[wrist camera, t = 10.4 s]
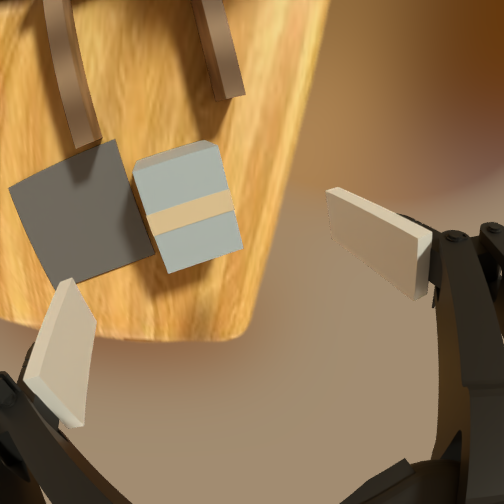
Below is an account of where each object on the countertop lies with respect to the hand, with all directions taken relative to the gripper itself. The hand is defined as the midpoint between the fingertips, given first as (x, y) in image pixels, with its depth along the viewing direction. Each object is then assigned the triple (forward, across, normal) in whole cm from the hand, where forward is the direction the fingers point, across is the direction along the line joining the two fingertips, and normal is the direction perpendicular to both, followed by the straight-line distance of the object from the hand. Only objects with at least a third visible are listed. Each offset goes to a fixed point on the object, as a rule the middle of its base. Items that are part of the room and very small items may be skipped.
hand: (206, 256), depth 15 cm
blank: (+14, 0, 0) cm, 14 cm away
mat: (+14, -10, +1) cm, 17 cm away
